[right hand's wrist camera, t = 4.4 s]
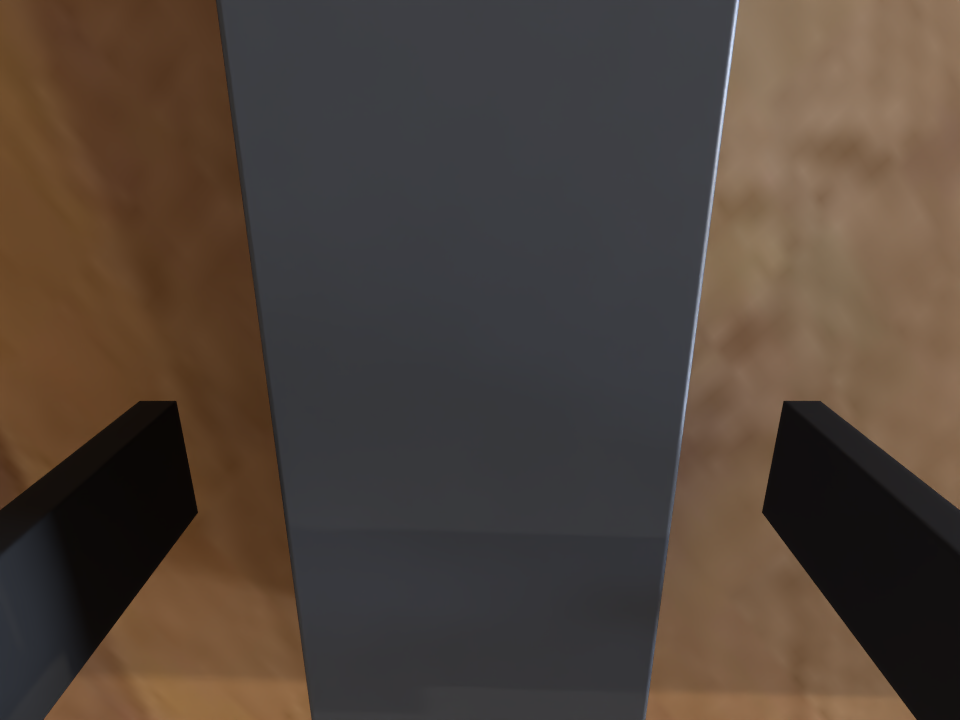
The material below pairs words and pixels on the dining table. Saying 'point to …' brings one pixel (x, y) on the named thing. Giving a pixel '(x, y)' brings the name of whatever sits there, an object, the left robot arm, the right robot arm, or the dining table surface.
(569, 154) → the beam
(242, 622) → the dining table surface
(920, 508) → the right robot arm
